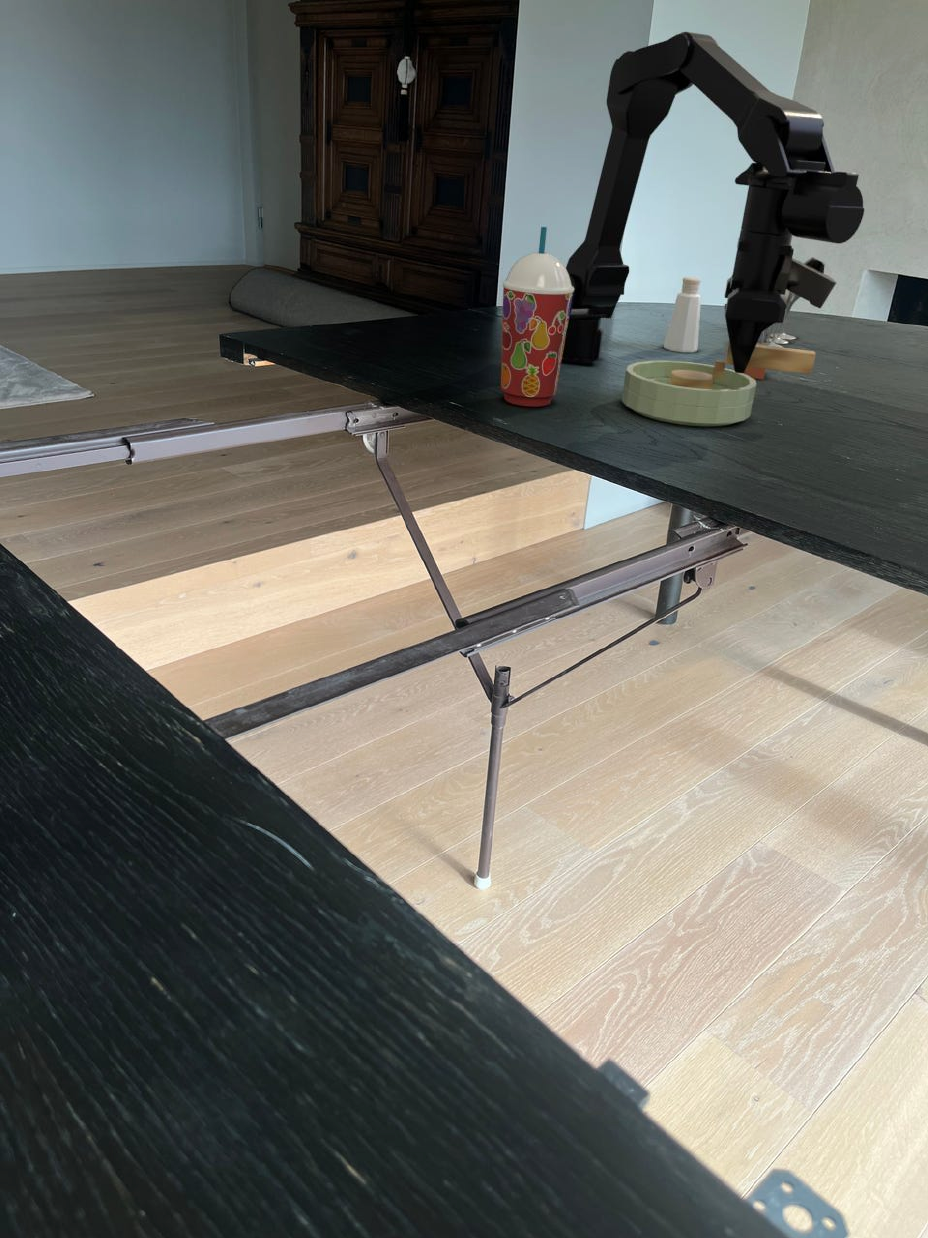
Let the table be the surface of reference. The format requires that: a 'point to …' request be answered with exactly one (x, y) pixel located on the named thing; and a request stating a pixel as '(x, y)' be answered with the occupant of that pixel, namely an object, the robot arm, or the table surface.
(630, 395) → the bowl
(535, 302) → the smoothie
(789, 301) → the goblet set
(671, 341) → the salt shaker
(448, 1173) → the table surface
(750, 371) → the orange upright block
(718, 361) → the wooden z bracket
